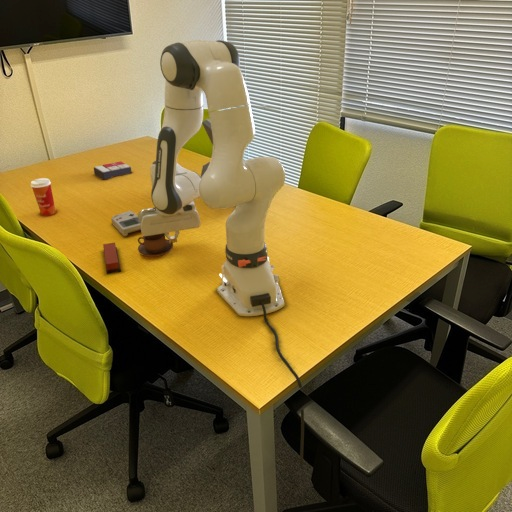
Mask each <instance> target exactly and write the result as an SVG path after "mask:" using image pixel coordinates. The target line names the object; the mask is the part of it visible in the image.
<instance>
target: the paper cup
mask: <svg viewBox="0 0 512 512" xmlns="http://www.w3.org/2000/svg"><path fill="white" fill-rule="evenodd" d="M51 184H52V182H51V181H50V179H49V178H47V177H41V178H36V179H33V180H31V182H30V187H31V189H32V192H33V194H34V198H35V200H36V203H37V206H38V209H39V211H40V214H41V216H45V217H49V216H53V215H54V214H56V211H57V210H56V205H55V200H54V195H53V190H52V185H51Z"/></svg>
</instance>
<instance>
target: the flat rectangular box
mask: <svg viewBox="0 0 512 512" xmlns="http://www.w3.org/2000/svg"><path fill="white" fill-rule="evenodd" d="M93 172H94V175H95V176H97V177H98V178H100V179H101V180H103V181H105V180H110V179H112V178H113V177H119V176H123V175H128V174H132V167H131V166H130V165H128V164H127V163H124V162H123V161H116V162H110V163H105V164H102V165H95V166H94V167H93Z"/></svg>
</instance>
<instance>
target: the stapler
mask: <svg viewBox="0 0 512 512" xmlns="http://www.w3.org/2000/svg"><path fill="white" fill-rule="evenodd" d="M102 246H103V256H104V264H105V272H106V275H110V274H115V273H121V272H122V269H121V264H120V259H119V254H118V253H119V252H118V248H117V246H116V242H109V243H103V244H102Z"/></svg>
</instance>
